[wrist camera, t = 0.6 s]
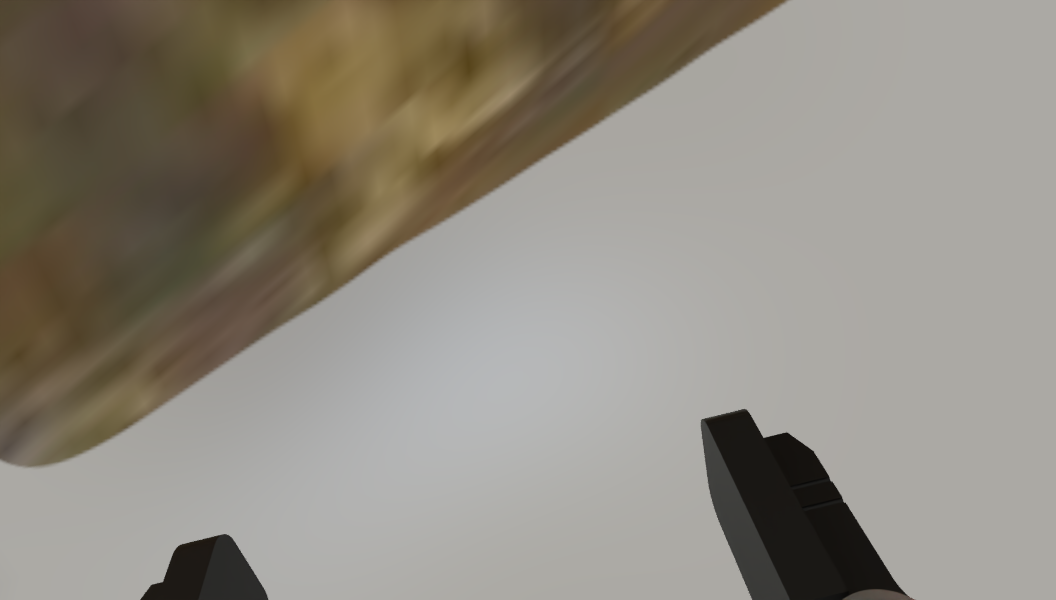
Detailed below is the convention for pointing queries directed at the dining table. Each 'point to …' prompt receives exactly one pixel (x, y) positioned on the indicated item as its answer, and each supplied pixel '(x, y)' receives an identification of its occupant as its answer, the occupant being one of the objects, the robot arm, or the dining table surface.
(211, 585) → the robot arm
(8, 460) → the dining table surface
